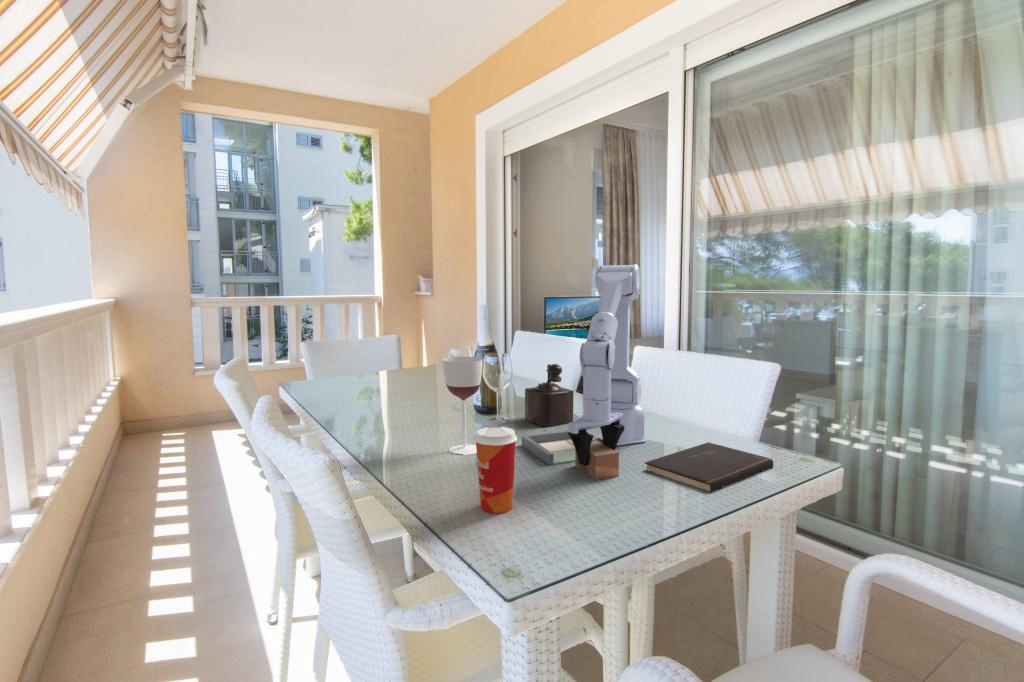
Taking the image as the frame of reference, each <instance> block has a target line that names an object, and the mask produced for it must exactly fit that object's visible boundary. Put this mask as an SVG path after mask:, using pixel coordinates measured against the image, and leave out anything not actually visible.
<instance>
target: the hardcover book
mask: <svg viewBox="0 0 1024 682" xmlns="http://www.w3.org/2000/svg"><path fill="white" fill-rule="evenodd" d="M644 464H645V465H646V471H647V470H650V471H652V472H651V473H653V472H655V473H654V474H656V473H658V474H657V475H659V474H661V475H660V476H662V475H663V476H662V477H665V476H666V477H665V478H668V477H669V478H668V479H671V478H672V480H674V481H677V480H678V481H677V482H680V481H681V482H680V483H683V482H684V483H683V484H686V483H687V484H686V485H688V484H690V486H691V485H694V486H696V487H695V488H697V487H698V488H697V489H700V488H701V490H703V489H705V490H704V491H706V490H707V491H706V492H709V491H710V492H709V493H713V492H715V491H714V490H716V489H718V490H720V489H719V488H721V487H723V486H726V485H728V486H730V485H729V484H731V483H733V484H735V483H737V482H736V481H738V482H740V481H742V480H741V479H743V480H745V479H747V478H746V477H748V476H750V477H752V476H751V475H753V476H755V475H757V474H759V473H758V472H760V473H762V472H764V471H763V470H765V471H767V470H769V469H768V468H770V467H772V468H774V461H773V459H772V458H771V457H766V456H762V455H760V454H756V453H751V452H747V451H744V450H741V449H740V450H739V449H735V448H732V447H728V446H723V445H721V444H717V443H712V442H710V441H709V442H705V443H701V444H698V445H695V446H692V447H690V448H687V449H686V448H685V449H683V450H680V451H679V450H678V451H677V452H673V453H669V454H668V455H665V456H661V457H658V458H655V459H651V460H648V461H645V462H644ZM766 469H767V470H766ZM770 469H771V468H770ZM650 471H649V472H650ZM761 471H762V472H761ZM756 473H757V474H756ZM754 474H755V475H754ZM744 478H745V479H744ZM748 478H749V477H748ZM739 480H740V481H739ZM734 482H735V483H734ZM731 485H732V484H731ZM694 486H693V487H694ZM726 487H727V486H726ZM723 488H724V487H723ZM721 489H722V488H721ZM712 491H713V492H712ZM716 491H717V490H716Z"/></svg>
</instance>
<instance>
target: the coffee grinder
mask: <svg viewBox="0 0 1024 682" xmlns="http://www.w3.org/2000/svg"><path fill="white" fill-rule="evenodd" d="M546 368H547V369H546V372H547V380H546V382H542V383H538V385H537V386H533V387H526V388H525V389H524V420H525V421H526V420H527V422H528V423H531V424H534V425H538V426H541V427H543V428H548V427H549V428H550V427H556V426H563V425H567V424H568V425H569V423H571V422H574V390H571V389H568V388H566V387H565V388H564V387H561V386H560V385H558V384H556V383H561V382H562V377H561V376H560V375H561V374H562V373H563V368H562V365H559V364H557V363H553V364H551V363H550V364H549V363H548V364H547V366H546ZM562 424H563V425H562Z"/></svg>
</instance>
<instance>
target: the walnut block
mask: <svg viewBox="0 0 1024 682" xmlns="http://www.w3.org/2000/svg"><path fill="white" fill-rule="evenodd" d="M619 459H620V452H618V451H616V449H615V450H613V449H611V448H609V447H607V446H605V445H604V444H603V442H600V441H596V440H595V441H592V442H591V446H590V454H589V464H588V465H587V466H585V465H582V464H579V460H578V456H577V452H576V449H575V462H574V464H575V467H576V468H577V469H579V470H580V471H582V472H583V473H585V474H587V475H588V476H589V477H591V478H592V479H594V480H596V479H597V480H602V479H608V478H613V477H614V478H616V477H619V476H620V474H619V472H620V470H619V469H620V460H619ZM597 480H596V481H597Z"/></svg>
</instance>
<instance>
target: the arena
mask: <svg viewBox="0 0 1024 682" xmlns="http://www.w3.org/2000/svg"><path fill="white" fill-rule="evenodd" d="M568 430H569V429H567V430H561V431H560V430H559V431H558V430H556V431H549V432H541V433H534V434H525V435H521V446H522V447H524V448H525V449H526V450H527V451H529V452H530V453H531V454H533V455H534V456H535V457H537V458H539V459H540V460H541V461H542V462H544V463H545V464H546V465H548V466H555V465H558V464H559V465H560V464H567V463H575V446H574V444H573V442H572V440H571V438H570V437H569V435H568Z"/></svg>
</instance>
